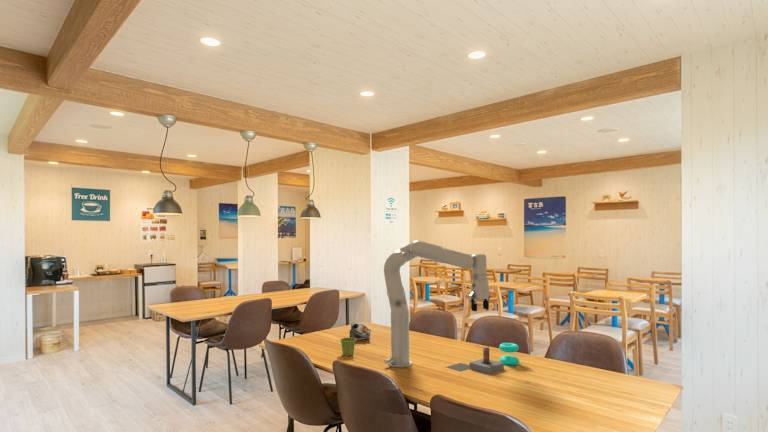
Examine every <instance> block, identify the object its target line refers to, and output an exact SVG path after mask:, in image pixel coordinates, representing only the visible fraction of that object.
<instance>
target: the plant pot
mask: <svg viewBox="0 0 768 432" xmlns="http://www.w3.org/2000/svg"><path fill="white" fill-rule="evenodd" d="M339 340H340V343H341V349H342V355H343V356H345V357H350V356H353V355H354V353H355V345H356V342H357V341H356V339H355V338H350V337H342V338H340V339H339Z"/></svg>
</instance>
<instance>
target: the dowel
mask: <svg viewBox="0 0 768 432" xmlns="http://www.w3.org/2000/svg"><path fill="white" fill-rule="evenodd" d="M482 349H483V350H482V353H483V356H482V357H483V358H482V359H483V363H484V364H487V365H488V364H490V360H491V359H490V347H489V346H483V347H482Z"/></svg>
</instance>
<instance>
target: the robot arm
mask: <svg viewBox="0 0 768 432" xmlns="http://www.w3.org/2000/svg"><path fill="white" fill-rule="evenodd" d="M417 257H418V258H421V259H425V260H429V261H433V262H437V263H440V264H447V265H451V266H454V267H458V268H461V269H465V270H467V269H470V268H471V275H472V277H471V278H472V279H471V287H470V288H471V289H470V294H469V295H468V298H469V299H468V300H469V301H470V304H471V311H472V312H478V303H477V302H478V300H479V301H480V300H483V301H482V308H483V309H484V310H489V308H490V307H489V302H490V299H491V294H492V293H491V292H490V287H489V281H488V279H487V278H488V277H487V275H488V274H487V268H488V267H487V255H486V254H485V253H474V254H471V253H470V254H468V253H465V252H464V253H463V252H461V251H456V250H454V249H449V248H447V247H444V246H441V245H437V244H433V243H429V242H426V241H421V240H413V241H412V242H410V243H408V244H406V245H404V246H402V247H400V248H398V249H396V250H394V251H393V252H392V253H391V254H390V255H389V256H388V257H387V258H386V260H385V262H384V265H383V274H384V275H383V276H384V281H385V286H386V295H387V297H388V302H389V307H390V340H391V341H390V344H391V345H390V347H391V350H390V351H391V353H390V354H391V355H390V356H389V358H387V359H384V364H388V366H390V367H392V368H398V369H399V368H402V369H403V368H408V367H411V366H412V365H413V361H412V360H410V311H409V307H408V302H407V297H406V291H405V288H404V286H403V281H402V278H401V277H402V276H401V267H402V266H404V265H405V264H406V263H408V262H410V261H412V260H413V259H416V258H417Z"/></svg>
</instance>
